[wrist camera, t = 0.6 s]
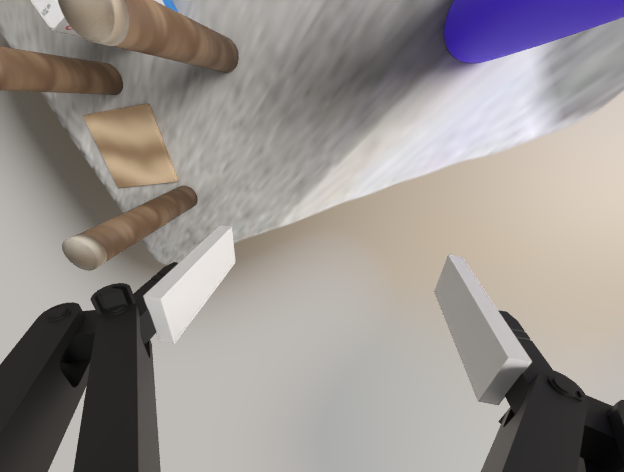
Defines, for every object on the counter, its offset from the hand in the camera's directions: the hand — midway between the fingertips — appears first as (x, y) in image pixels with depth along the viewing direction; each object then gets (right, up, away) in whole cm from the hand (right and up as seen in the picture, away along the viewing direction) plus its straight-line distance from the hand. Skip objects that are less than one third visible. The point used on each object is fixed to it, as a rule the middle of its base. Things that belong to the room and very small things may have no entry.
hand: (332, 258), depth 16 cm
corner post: (-24, +8, +30) cm, 39 cm away
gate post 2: (-13, +26, +19) cm, 35 cm away
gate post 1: (-32, +25, +22) cm, 46 cm away
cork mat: (-31, +16, +27) cm, 44 cm away
